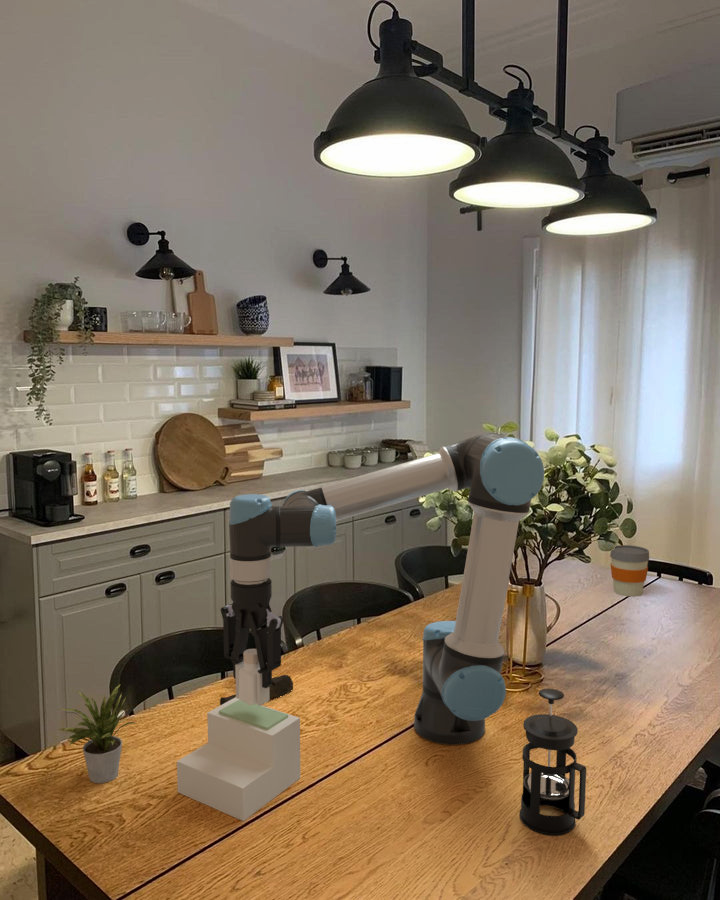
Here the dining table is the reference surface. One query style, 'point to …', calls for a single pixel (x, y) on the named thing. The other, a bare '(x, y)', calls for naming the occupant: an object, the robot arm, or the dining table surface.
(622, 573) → the reusable coffee cup
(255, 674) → the white square bottle
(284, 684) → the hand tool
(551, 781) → the french press
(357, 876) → the dining table surface
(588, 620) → the dining table surface
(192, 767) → the stepped riser
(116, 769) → the house plant
